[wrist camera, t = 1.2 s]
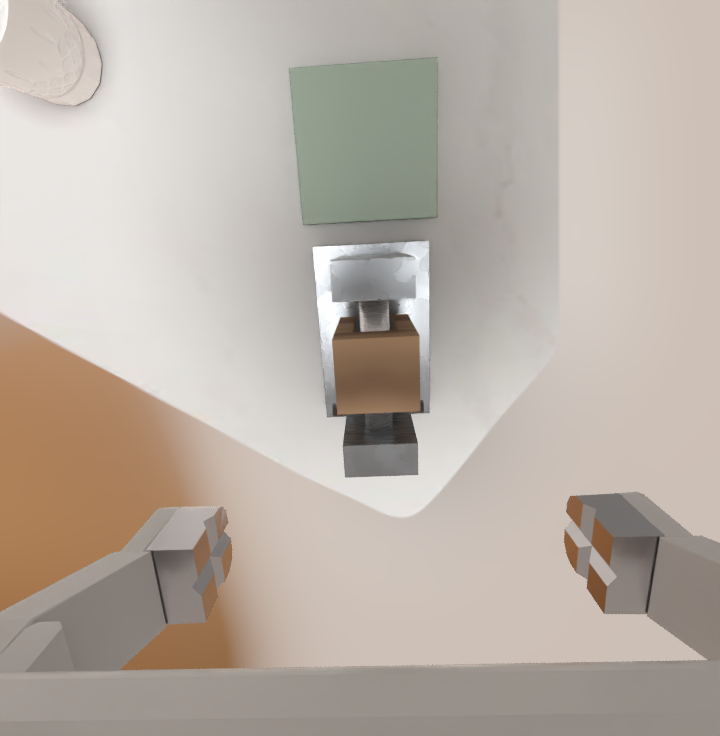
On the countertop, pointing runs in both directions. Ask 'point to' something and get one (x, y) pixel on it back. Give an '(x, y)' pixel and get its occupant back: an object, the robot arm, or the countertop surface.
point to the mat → (366, 140)
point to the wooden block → (377, 368)
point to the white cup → (47, 52)
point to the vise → (374, 313)
